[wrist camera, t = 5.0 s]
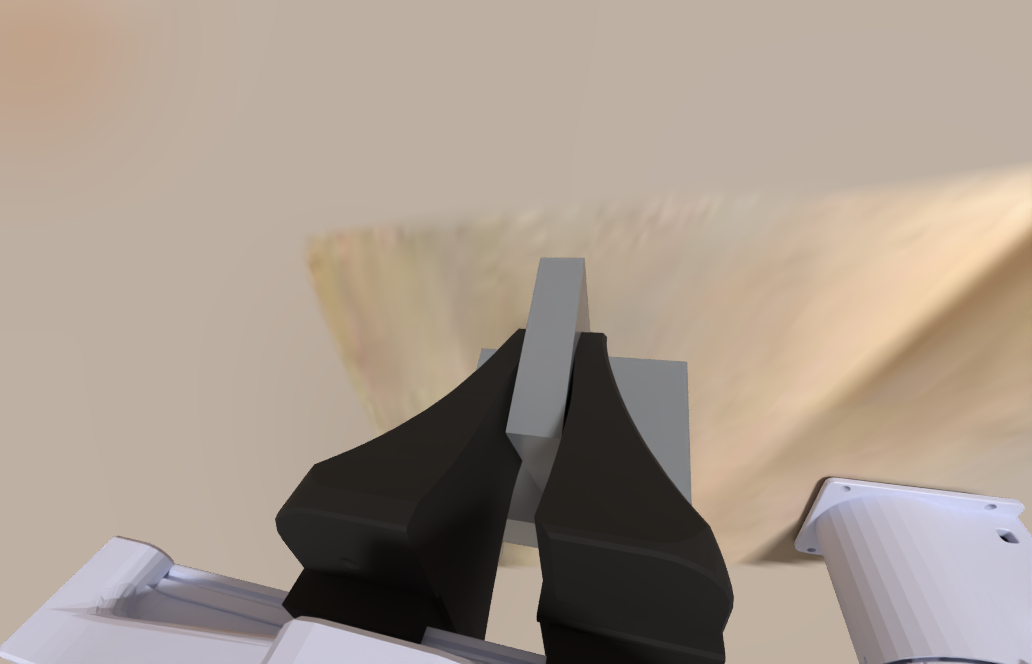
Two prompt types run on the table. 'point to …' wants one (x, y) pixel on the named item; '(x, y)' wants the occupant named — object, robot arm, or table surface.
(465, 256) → the table surface
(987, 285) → the table surface
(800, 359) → the table surface
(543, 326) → the grey block with fin
